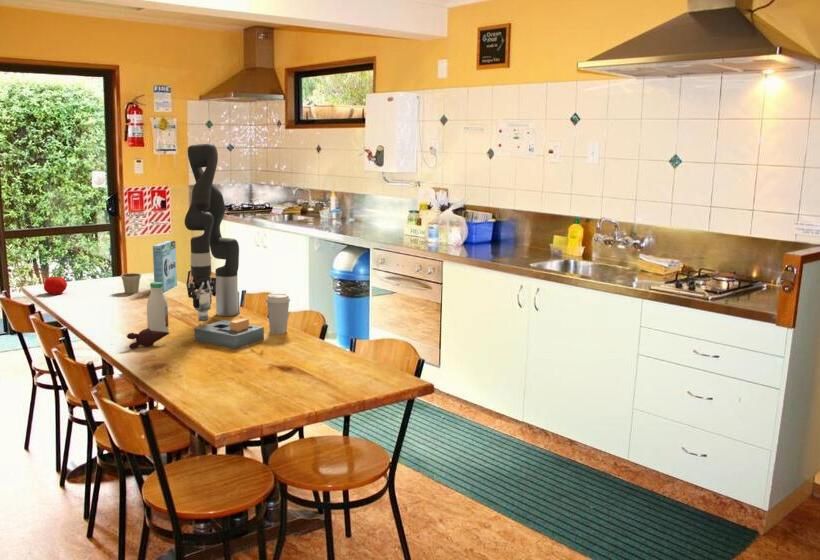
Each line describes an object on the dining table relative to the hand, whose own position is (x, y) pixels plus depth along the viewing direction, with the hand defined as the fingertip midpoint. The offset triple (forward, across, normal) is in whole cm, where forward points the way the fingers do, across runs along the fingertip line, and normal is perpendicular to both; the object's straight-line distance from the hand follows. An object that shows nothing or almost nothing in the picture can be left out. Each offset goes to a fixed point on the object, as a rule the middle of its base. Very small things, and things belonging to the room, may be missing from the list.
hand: (202, 306), depth 291 cm
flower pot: (+12, -38, -82) cm, 91 cm away
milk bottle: (+11, +10, -14) cm, 20 cm away
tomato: (+12, -16, -108) cm, 110 cm away
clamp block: (+6, +3, +21) cm, 22 cm away
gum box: (+13, -55, -76) cm, 94 cm away
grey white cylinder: (+6, 0, 0) cm, 6 cm away
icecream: (+11, +24, -4) cm, 27 cm away
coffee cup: (+11, -17, +23) cm, 31 cm away
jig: (+11, +3, +16) cm, 19 cm away
